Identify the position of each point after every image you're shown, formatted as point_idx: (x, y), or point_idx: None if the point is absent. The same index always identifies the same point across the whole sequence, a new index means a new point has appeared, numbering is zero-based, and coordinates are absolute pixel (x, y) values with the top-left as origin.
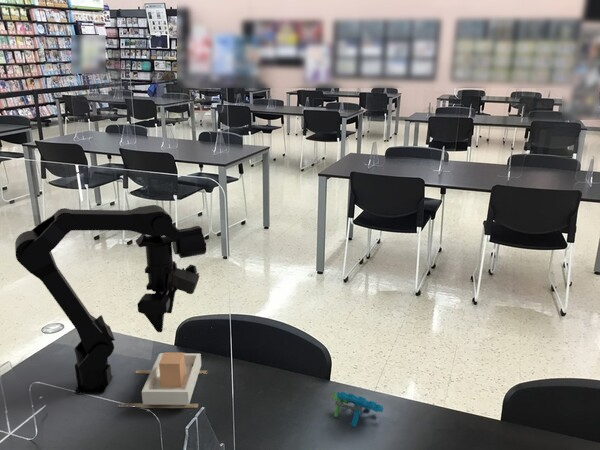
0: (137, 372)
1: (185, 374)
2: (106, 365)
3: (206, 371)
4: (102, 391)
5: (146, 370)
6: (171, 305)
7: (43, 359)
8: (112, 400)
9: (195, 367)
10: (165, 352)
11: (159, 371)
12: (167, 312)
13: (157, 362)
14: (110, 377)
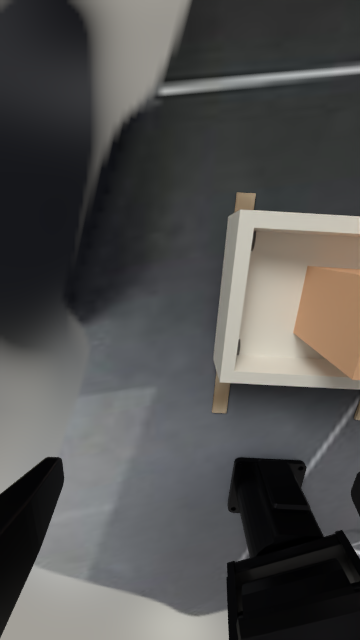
0: (224, 408)
1: (308, 266)
2: (285, 515)
3: (243, 196)
4: (305, 466)
5: (215, 388)
6: (9, 530)
7: (151, 584)
8: (333, 435)
9: (355, 219)
10: (355, 373)
11: (270, 356)
12: (60, 484)
13: (282, 378)
14: (272, 470)
